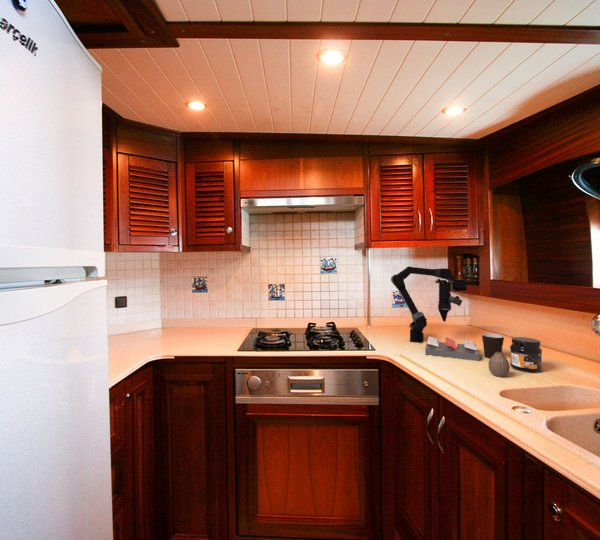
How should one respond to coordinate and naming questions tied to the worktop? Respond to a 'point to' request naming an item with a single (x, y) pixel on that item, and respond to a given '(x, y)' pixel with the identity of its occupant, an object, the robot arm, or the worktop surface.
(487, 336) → the coffee mug
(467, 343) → the rocker right
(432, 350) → the rocker switch panel
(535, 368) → the supplement container
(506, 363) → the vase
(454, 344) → the rocker red
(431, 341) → the plate
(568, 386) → the worktop surface
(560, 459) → the worktop surface
